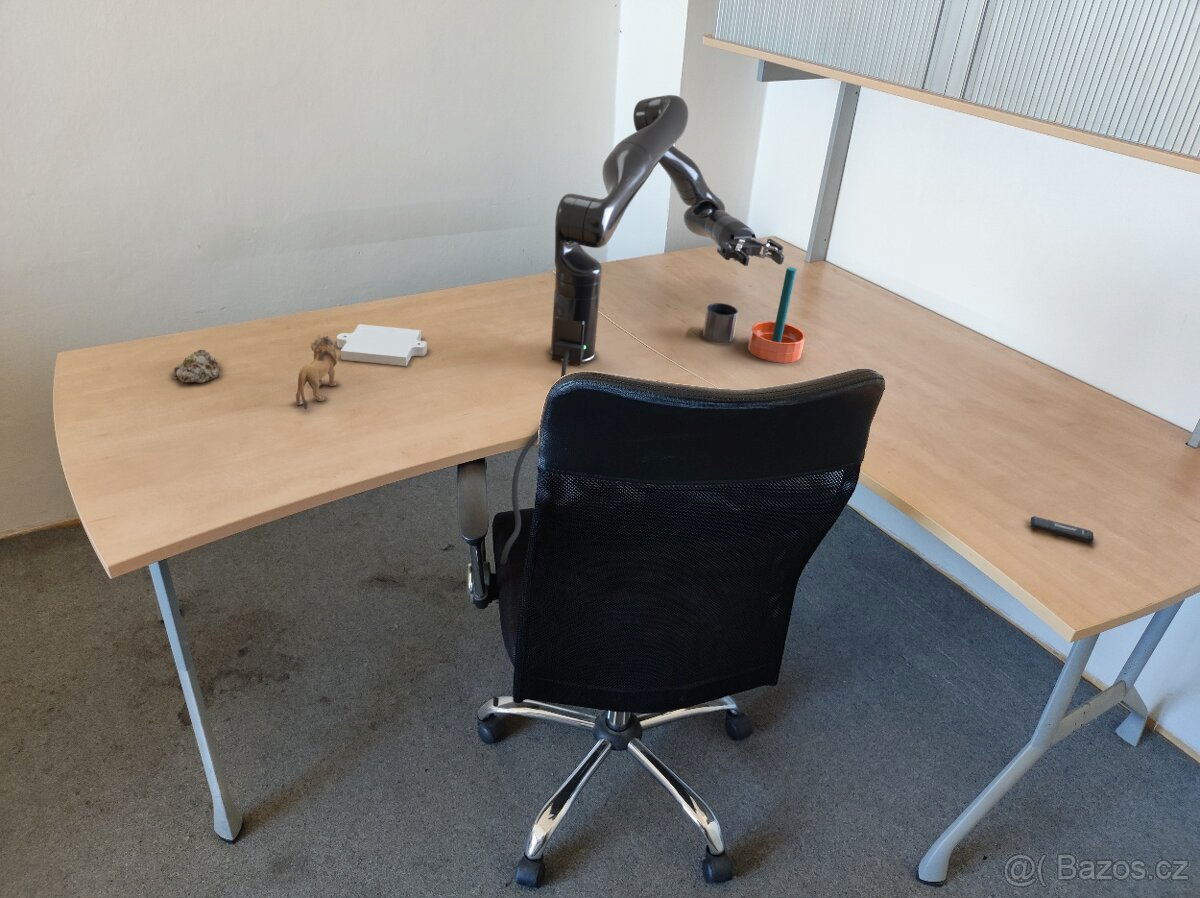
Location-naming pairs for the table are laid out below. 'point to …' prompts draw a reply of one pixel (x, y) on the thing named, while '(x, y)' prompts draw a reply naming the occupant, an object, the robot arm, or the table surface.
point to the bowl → (776, 343)
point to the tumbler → (720, 322)
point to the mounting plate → (381, 345)
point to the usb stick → (1062, 529)
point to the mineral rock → (197, 368)
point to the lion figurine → (317, 368)
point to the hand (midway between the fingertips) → (764, 261)
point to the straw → (784, 304)
